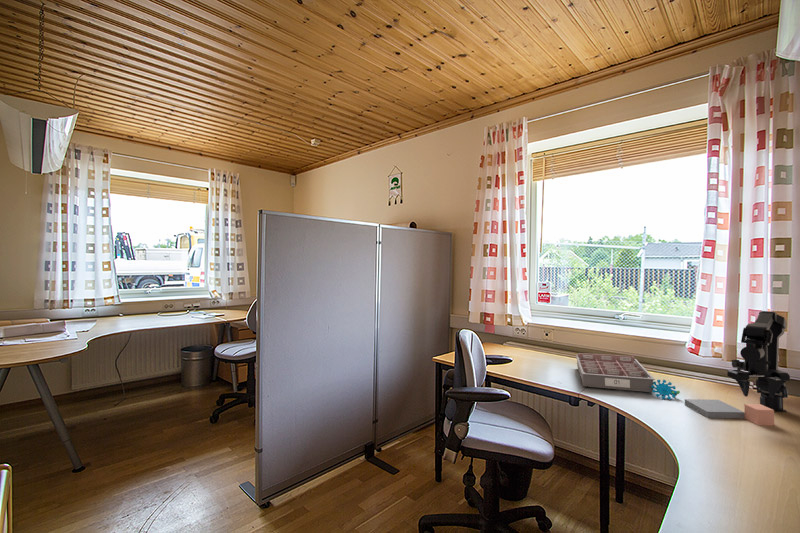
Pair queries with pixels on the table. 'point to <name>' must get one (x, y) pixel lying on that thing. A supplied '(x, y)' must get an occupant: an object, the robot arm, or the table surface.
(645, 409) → the table surface
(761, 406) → the salmon pink cube
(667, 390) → the blue spiky toy
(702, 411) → the plinth
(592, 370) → the organizer tray
